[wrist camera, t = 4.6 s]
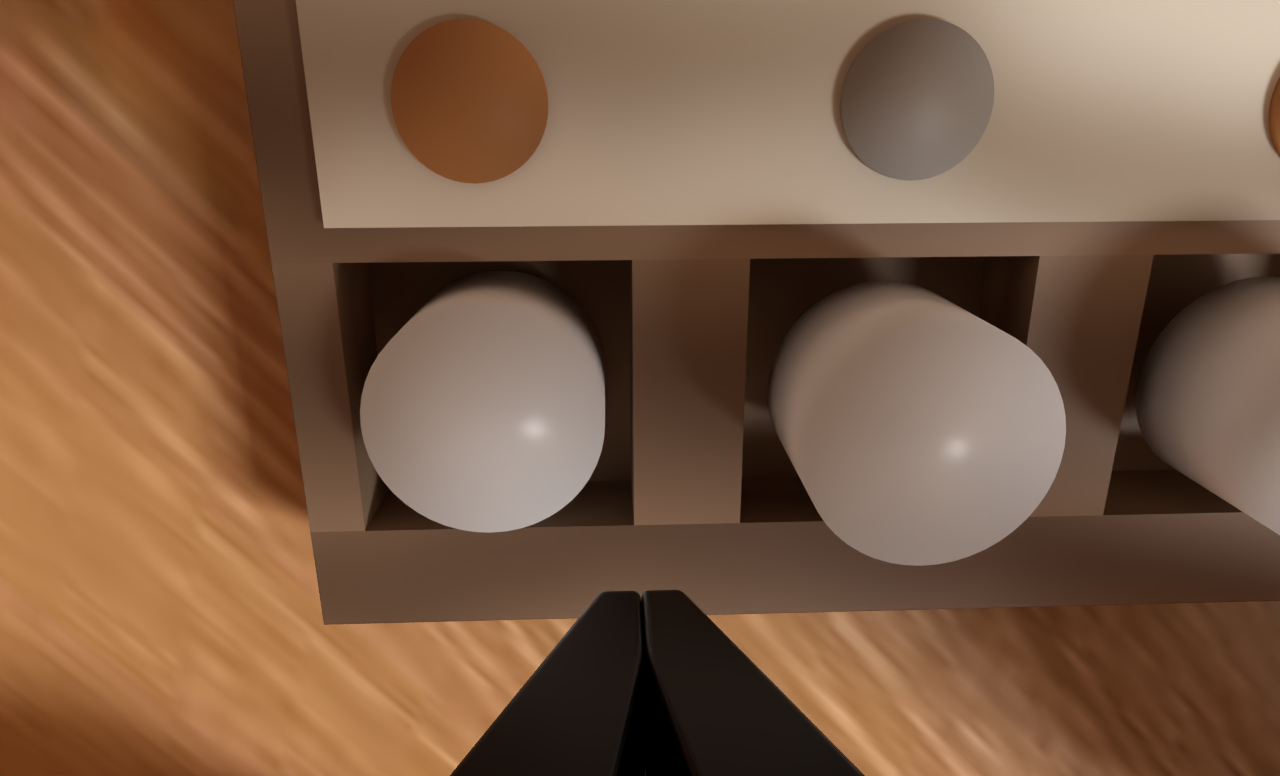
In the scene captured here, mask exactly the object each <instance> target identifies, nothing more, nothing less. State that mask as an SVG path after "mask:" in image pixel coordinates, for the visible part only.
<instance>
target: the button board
mask: <svg viewBox="0 0 1280 776" xmlns="http://www.w3.org/2000/svg"><path fill="white" fill-rule="evenodd" d="M233 4H234V11H235V18H236V25H237V32H238V39H239V45H240V52H241V59H242V66H243V73H244V80H245V86H246V93H247V100H248V107H249V114H250V121H251V128H252V134H253V141H254V148H255V155H256V162H257V169H258V176H259V182H260V189H261V196H262V203H263V210H264V217H265V223H266V230H267V237H268V244H269V251H270V258H271V265H272V271H273V278H274V285H275V292H276V299H277V306H278V313H279V319H280V326H281V333H282V340H283V347H284V354H285V360H286V367H287V374H288V381H289V388H290V395H291V402H292V408H293V415H294V422H295V429H296V436H297V443H298V450H299V456H300V463H301V470H302V477H303V484H304V491H305V498H306V504H307V511H308V518H309V525H310V532H311V539H312V545H313V552H314V559H315V566H316V573H317V580H318V587H319V593H320V600H321V607H322V614H323V621H324V625H327V624H367V623H407V622H447V621H486V620H526V619H566V618H579V617H580V616H581V615H582V614H583V612H584V611H585V610H586V609H587V608H588V606H589V605H590V604H591V603H592V601H593V600H594V599H595V598H596V597H597V595H598V594H600V593H601V592H604V591H636V592H637V593H639V595H640V597H641V596H642V594H643V593H644V592H646V591H648V590H680V591H682V592H684V593H685V594H686V595H687V596H688V597H689V598H690V599H691V600H692V601H693V602H694V603H695V604H696V605H697V606H698V607H699V608H700V609H701V610H702V611H703V613H704V614H705V615H726V614H765V613H805V612H845V611H885V610H925V609H965V608H1004V607H1044V606H1084V605H1124V604H1164V603H1204V602H1243V601H1280V535H1279V534H1277V533H1275V532H1274V531H1272V530H1271V529H1269V528H1267V527H1266V526H1264V525H1263V524H1261V523H1260V522H1258V521H1256V520H1255V519H1253V518H1252V517H1250V516H1248V515H1247V514H1245V513H1244V512H1242V511H1241V510H1239V509H1237V508H1236V507H1234V506H1233V505H1231V504H1229V503H1228V502H1226V501H1225V500H1223V499H1222V498H1220V497H1218V496H1217V495H1215V494H1214V493H1212V492H1210V491H1209V490H1207V489H1206V488H1204V487H1203V486H1201V485H1199V484H1198V483H1196V482H1195V481H1193V480H1191V479H1190V478H1188V477H1187V476H1185V475H1183V474H1182V473H1180V472H1179V471H1177V470H1176V469H1174V468H1172V467H1171V466H1169V465H1168V464H1167V463H1165V462H1164V461H1162V460H1161V459H1160V458H1159V457H1158V456H1157V455H1156V454H1155V453H1154V452H1153V451H1152V450H1151V448H1150V447H1149V445H1148V444H1147V443H1146V441H1145V439H1144V437H1143V435H1142V433H1141V430H1140V427H1139V424H1138V420H1137V414H1136V389H1137V382H1138V379H1139V375H1140V371H1141V368H1142V366H1143V363H1144V361H1145V358H1146V356H1147V354H1148V352H1149V350H1150V348H1151V347H1152V345H1153V343H1154V342H1155V340H1156V339H1157V337H1158V336H1159V334H1160V333H1161V332H1162V330H1163V329H1164V328H1165V327H1166V326H1167V325H1168V323H1169V322H1170V321H1171V320H1172V319H1173V318H1174V317H1175V316H1176V315H1177V314H1178V313H1179V312H1181V311H1182V310H1183V309H1184V308H1185V307H1187V306H1188V305H1189V304H1191V303H1192V302H1193V301H1194V300H1196V299H1198V298H1199V297H1201V296H1203V295H1204V294H1206V293H1208V292H1209V291H1211V290H1214V289H1216V288H1218V287H1220V286H1222V285H1225V284H1228V283H1231V282H1234V281H1237V280H1242V279H1247V278H1252V277H1265V276H1267V277H1280V0H233ZM496 270H503V271H515V272H521V273H526V274H529V275H532V276H536V277H539V278H541V279H543V280H545V281H548V282H550V283H552V284H553V285H555V286H557V287H558V288H560V289H561V290H563V291H564V292H565V293H567V294H568V295H569V296H570V297H572V298H573V299H574V300H575V301H576V302H577V303H578V304H579V305H580V307H581V308H582V309H583V310H584V311H585V313H586V314H587V315H588V317H589V318H590V320H591V321H592V323H593V325H594V327H595V329H596V331H597V333H598V336H599V338H600V341H601V344H602V348H603V353H604V359H605V433H604V441H603V446H602V451H601V454H600V457H599V460H598V463H597V465H596V467H595V469H594V471H593V473H592V475H591V477H590V479H589V480H588V482H587V483H586V484H585V486H584V487H583V489H582V490H581V491H580V492H579V493H578V494H577V495H576V497H575V498H574V499H573V500H572V501H571V502H569V503H568V504H567V505H566V506H565V507H563V508H562V509H561V510H559V511H558V512H556V513H555V514H553V515H552V516H550V517H548V518H546V519H544V520H542V521H540V522H538V523H536V524H533V525H530V526H527V527H524V528H521V529H516V530H511V531H505V532H492V533H487V532H472V531H465V530H460V529H456V528H452V527H449V526H445V525H443V524H440V523H438V522H435V521H433V520H430V519H429V518H427V517H425V516H423V515H421V514H419V513H418V512H416V511H415V510H413V509H412V508H410V507H409V506H408V505H406V504H405V503H404V502H403V501H402V500H400V499H399V498H398V497H397V496H396V495H395V494H394V493H393V492H392V491H391V490H390V489H389V487H388V486H387V485H386V484H385V483H384V482H383V480H382V479H381V477H380V476H379V474H378V473H377V471H376V470H375V468H374V466H373V464H372V462H371V460H370V458H369V456H368V453H367V450H366V447H365V444H364V441H363V436H362V430H361V422H360V406H361V396H362V392H363V388H364V384H365V381H366V378H367V376H368V373H369V371H370V368H371V366H372V365H373V363H374V361H375V360H376V358H377V356H378V355H379V353H380V352H381V351H382V350H383V348H384V347H385V346H386V345H387V343H388V342H389V341H390V340H391V339H392V338H393V337H394V336H395V335H396V334H397V333H398V332H399V330H400V329H401V328H402V327H403V326H404V325H405V324H406V323H407V322H408V321H409V320H410V319H411V318H412V317H413V316H414V315H415V313H416V312H417V311H418V310H419V309H420V308H421V307H422V306H423V305H424V304H425V303H426V302H427V301H428V300H429V299H430V298H431V297H432V296H433V295H434V294H435V293H436V292H438V291H439V290H441V289H442V288H443V287H445V286H446V285H448V284H450V283H452V282H454V281H456V280H458V279H460V278H462V277H465V276H468V275H471V274H475V273H480V272H484V271H496ZM872 281H899V282H904V283H909V284H914V285H917V286H919V287H922V288H925V289H927V290H929V291H931V292H933V293H935V294H937V295H939V296H941V297H943V298H944V299H946V300H948V301H950V302H952V303H953V304H955V305H957V306H959V307H961V308H962V309H964V310H966V311H968V312H970V313H971V314H973V315H975V316H977V317H979V318H980V319H982V320H984V321H986V322H988V323H989V324H991V325H993V326H995V327H997V328H998V329H1000V330H1002V331H1004V332H1006V333H1007V334H1009V335H1011V336H1013V337H1015V338H1016V339H1018V340H1019V341H1020V342H1022V343H1023V344H1025V345H1026V346H1027V347H1029V348H1030V349H1031V350H1032V351H1033V352H1034V353H1035V354H1036V355H1037V356H1038V357H1039V358H1040V359H1041V360H1042V361H1043V363H1044V364H1045V365H1046V367H1047V368H1048V369H1049V371H1050V372H1051V374H1052V376H1053V378H1054V380H1055V382H1056V383H1057V385H1058V388H1059V391H1060V394H1061V397H1062V400H1063V405H1064V410H1065V415H1066V438H1065V447H1064V451H1063V456H1062V460H1061V464H1060V466H1059V469H1058V471H1057V474H1056V477H1055V479H1054V481H1053V483H1052V485H1051V487H1050V488H1049V490H1048V492H1047V494H1046V495H1045V497H1044V498H1043V500H1042V501H1041V502H1040V504H1039V505H1038V507H1037V508H1036V509H1035V510H1034V511H1033V512H1032V514H1031V515H1030V516H1029V517H1028V518H1027V519H1026V520H1025V521H1024V522H1023V523H1022V524H1021V525H1020V526H1019V527H1018V528H1016V529H1015V530H1014V531H1013V532H1012V533H1010V534H1009V535H1008V536H1006V537H1005V538H1003V539H1002V540H1001V541H999V542H997V543H996V544H994V545H992V546H990V547H989V548H987V549H985V550H983V551H981V552H978V553H976V554H974V555H971V556H969V557H966V558H963V559H959V560H956V561H953V562H947V563H942V564H937V565H925V566H913V565H901V564H894V563H889V562H885V561H882V560H878V559H875V558H872V557H870V556H868V555H865V554H863V553H861V552H859V551H857V550H856V549H854V548H852V547H851V546H849V545H848V544H846V543H845V542H844V541H843V540H841V539H840V538H839V537H838V536H837V535H835V533H834V532H833V531H832V530H831V529H830V528H829V527H828V526H827V525H826V524H825V522H824V521H823V519H822V518H821V516H820V515H819V513H818V512H817V510H816V508H815V506H814V504H813V502H812V500H811V498H810V496H809V495H808V493H807V491H806V489H805V487H804V485H803V483H802V481H801V479H800V477H799V476H798V474H797V472H796V470H795V468H794V466H793V464H792V462H791V460H790V458H789V456H788V455H787V453H786V451H785V449H784V447H783V445H782V443H781V441H780V439H779V437H778V435H777V433H776V431H775V429H774V427H773V424H772V420H771V417H770V413H769V407H768V393H767V388H768V379H769V373H770V369H771V365H772V362H773V359H774V357H775V354H776V352H777V349H778V347H779V345H780V344H781V342H782V340H783V338H784V336H785V335H786V334H787V332H788V331H789V330H790V328H791V327H792V325H793V324H794V323H795V322H796V321H797V320H798V319H799V318H800V317H801V316H802V315H803V314H804V313H805V312H806V311H807V310H808V309H810V308H811V307H812V306H813V305H814V304H816V303H817V302H819V301H820V300H822V299H824V298H825V297H827V296H829V295H831V294H833V293H835V292H837V291H839V290H841V289H844V288H847V287H850V286H853V285H856V284H861V283H866V282H872Z"/></svg>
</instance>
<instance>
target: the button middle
mask: <svg viewBox="0 0 1280 776" xmlns="http://www.w3.org/2000/svg"><path fill="white" fill-rule="evenodd" d="M767 393H768V407H769V413H770V417H771V420H772V424H773V427H774V429H775V431H776V433H777V435H778V437H779V439H780V441H781V443H782V445H783V447H784V449H785V451H786V453H787V455H788V456H789V458H790V460H791V462H792V464H793V466H794V468H795V470H796V472H797V474H798V476H799V477H800V479H801V481H802V483H803V485H804V487H805V489H806V491H807V493H808V495H809V496H810V498H811V500H812V502H813V504H814V506H815V508H816V510H817V512H818V513H819V515H820V516H821V518H822V519H823V521H824V522H825V524H826V525H827V526H828V527H829V528H830V529H831V530H832V531H833V532H834V533H835V535H837V536H838V537H839V538H840V539H841V540H843V541H844V542H845V543H846V544H848V545H849V546H851V547H852V548H854V549H856V550H857V551H859V552H861V553H863V554H865V555H868V556H870V557H872V558H875V559H878V560H882V561H885V562H889V563H894V564H901V565H913V566H925V565H937V564H942V563H947V562H953V561H956V560H959V559H963V558H966V557H969V556H971V555H974V554H976V553H978V552H981V551H983V550H985V549H987V548H989V547H990V546H992V545H994V544H996V543H997V542H999V541H1001V540H1002V539H1003V538H1005V537H1006V536H1008V535H1009V534H1010V533H1012V532H1013V531H1014V530H1015V529H1016V528H1018V527H1019V526H1020V525H1021V524H1022V523H1023V522H1024V521H1025V520H1026V519H1027V518H1028V517H1029V516H1030V515H1031V514H1032V512H1033V511H1034V510H1035V509H1036V508H1037V507H1038V505H1039V504H1040V502H1041V501H1042V500H1043V498H1044V497H1045V495H1046V494H1047V492H1048V490H1049V488H1050V487H1051V485H1052V483H1053V481H1054V479H1055V477H1056V474H1057V471H1058V469H1059V466H1060V464H1061V460H1062V456H1063V451H1064V447H1065V438H1066V415H1065V410H1064V405H1063V400H1062V397H1061V394H1060V391H1059V388H1058V385H1057V383H1056V382H1055V380H1054V378H1053V376H1052V374H1051V372H1050V371H1049V369H1048V368H1047V367H1046V365H1045V364H1044V363H1043V361H1042V360H1041V359H1040V358H1039V357H1038V356H1037V355H1036V354H1035V353H1034V352H1033V351H1032V350H1031V349H1030V348H1029V347H1027V346H1026V345H1025V344H1023V343H1022V342H1020V341H1019V340H1018V339H1016V338H1015V337H1013V336H1011V335H1009V334H1007V333H1006V332H1004V331H1002V330H1000V329H998V328H997V327H995V326H993V325H991V324H989V323H988V322H986V321H984V320H982V319H980V318H979V317H977V316H975V315H973V314H971V313H970V312H968V311H966V310H964V309H962V308H961V307H959V306H957V305H955V304H953V303H952V302H950V301H948V300H946V299H944V298H943V297H941V296H939V295H937V294H935V293H933V292H931V291H929V290H927V289H925V288H922V287H919V286H917V285H914V284H909V283H904V282H899V281H872V282H866V283H861V284H856V285H853V286H850V287H847V288H844V289H841V290H839V291H837V292H835V293H833V294H831V295H829V296H827V297H825V298H824V299H822V300H820V301H819V302H817V303H816V304H814V305H813V306H812V307H811V308H810V309H808V310H807V311H806V312H805V313H804V314H803V315H802V316H801V317H800V318H799V319H798V320H797V321H796V322H795V323H794V324H793V325H792V327H791V328H790V330H789V331H788V332H787V334H786V335H785V336H784V338H783V340H782V342H781V344H780V345H779V347H778V349H777V352H776V354H775V357H774V359H773V362H772V365H771V369H770V373H769V379H768V388H767Z"/></svg>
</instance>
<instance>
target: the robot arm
mask: <svg viewBox="0 0 1280 776" xmlns="http://www.w3.org/2000/svg"><path fill="white" fill-rule="evenodd" d="M450 776H865V775H864V774H863V773H862V772H861V771H860V770H859V769H858V768H857V767H856V766H855V765H854V764H853V763H852V762H851V761H850V760H849V759H848V758H847V757H846V756H845V755H844V754H843V753H842V752H841V751H840V750H839V749H838V748H837V747H836V746H835V745H834V744H833V743H832V742H831V741H830V740H829V739H828V738H827V737H826V736H825V735H824V734H823V733H822V732H821V731H820V730H819V729H818V728H817V727H816V726H815V725H814V724H813V723H812V722H811V721H810V720H809V719H808V718H807V717H806V716H805V715H804V714H803V713H802V712H801V711H800V710H799V709H798V708H797V707H796V706H795V705H794V704H793V703H792V702H791V701H790V700H789V699H788V698H787V697H786V695H785V694H784V693H783V692H782V691H781V690H780V689H779V688H778V687H777V686H776V685H775V684H774V683H773V682H772V681H771V680H770V679H769V678H768V677H767V676H766V675H765V674H764V673H763V672H762V671H761V670H760V669H759V668H758V667H757V666H756V665H755V664H754V663H753V662H752V661H751V660H750V659H749V658H748V657H747V656H746V655H745V654H744V653H743V652H742V651H741V650H740V649H739V648H738V647H737V646H736V645H735V644H734V643H733V642H732V641H731V640H730V639H729V638H728V637H727V636H726V635H725V634H724V633H723V632H722V631H721V630H720V629H719V628H718V627H717V626H716V625H715V624H714V623H713V622H712V621H711V620H710V619H709V618H708V617H707V616H706V615H705V614H704V613H703V611H702V610H701V609H700V608H699V607H698V606H697V605H696V604H695V603H694V602H693V601H692V600H691V599H690V598H689V597H688V596H687V595H686V594H685V593H684V592H682V591H680V590H648V591H646V592H644V593H643V594H642V596H641V597H640V595H639V593H637V592H636V591H604V592H601V593H600V594H598V595H597V597H596V598H595V599H594V600H593V601H592V603H591V604H590V605H589V606H588V608H587V609H586V610H585V611H584V612H583V614H582V615H581V616H580V617H579V619H578V620H577V621H576V622H575V623H574V625H573V626H572V627H571V628H570V630H569V631H568V632H567V633H566V634H565V636H564V637H563V638H562V639H561V641H560V642H559V643H558V644H557V645H556V647H555V648H554V649H553V650H552V652H551V653H550V654H549V655H548V656H547V658H546V659H545V660H544V661H543V663H542V664H541V665H540V666H539V667H538V669H537V670H536V671H535V672H534V674H533V675H532V676H531V677H530V678H529V680H528V681H527V682H526V683H525V685H524V686H523V687H522V688H521V689H520V691H519V692H518V693H517V694H516V696H515V697H514V698H513V699H512V700H511V702H510V703H509V704H508V705H507V707H506V708H505V709H504V710H503V711H502V713H501V714H500V715H499V716H498V718H497V719H496V720H495V721H494V722H493V724H492V725H491V726H490V727H489V729H488V730H487V731H486V732H485V733H484V735H483V736H482V737H481V738H480V739H479V741H478V742H477V743H476V744H475V746H474V747H473V748H472V749H471V750H470V752H469V753H468V754H467V755H466V757H465V758H464V759H463V760H462V761H461V763H460V764H459V765H458V766H457V768H456V769H455V770H454V771H453V772H452V774H451V775H450Z"/></svg>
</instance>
